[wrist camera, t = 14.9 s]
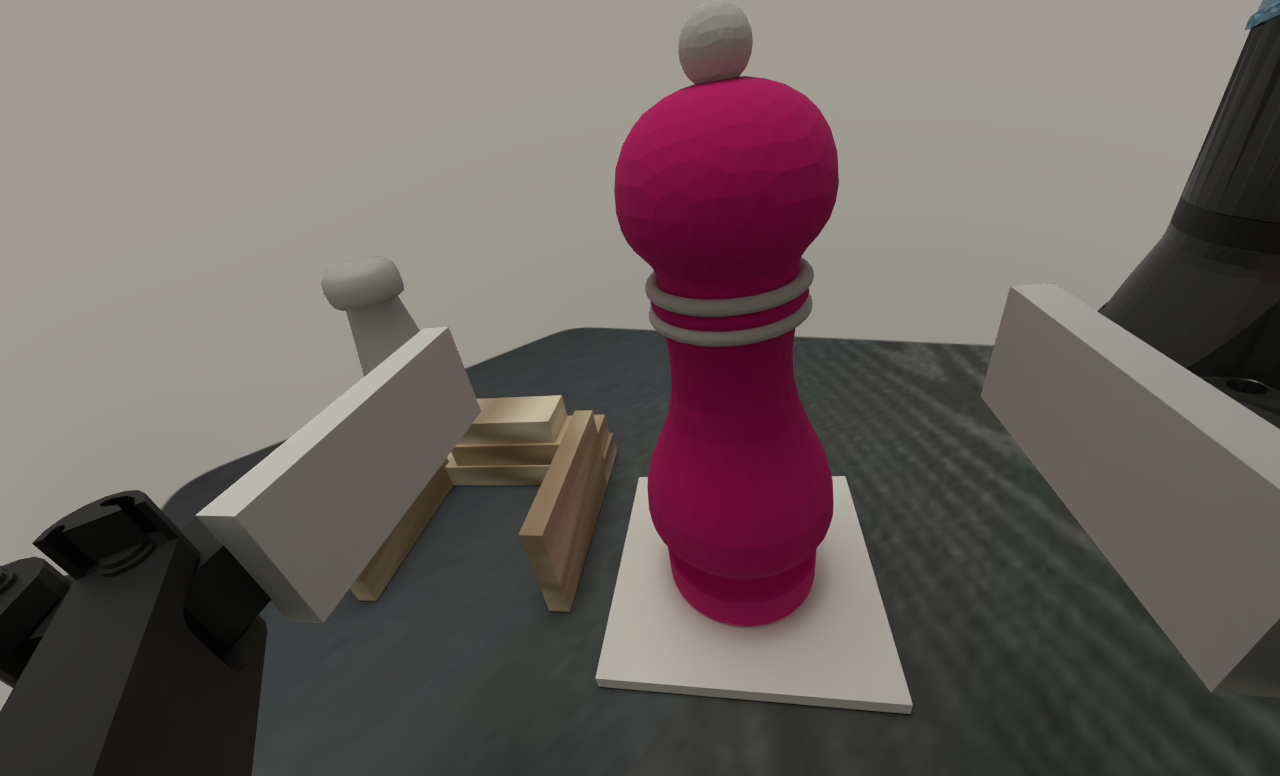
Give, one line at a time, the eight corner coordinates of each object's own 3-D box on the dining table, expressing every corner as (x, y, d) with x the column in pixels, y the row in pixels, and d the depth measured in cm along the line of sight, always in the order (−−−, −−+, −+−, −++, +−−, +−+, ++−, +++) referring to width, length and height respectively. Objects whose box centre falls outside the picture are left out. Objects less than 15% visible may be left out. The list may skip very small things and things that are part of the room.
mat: (844, 484, 25) (845, 476, 25) (910, 714, 16) (913, 705, 16) (640, 485, 28) (639, 477, 27) (598, 686, 19) (595, 678, 18)
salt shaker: (384, 470, 33) (282, 288, 26) (400, 424, 37) (317, 260, 31) (471, 447, 33) (393, 265, 27) (475, 405, 38) (411, 241, 31)
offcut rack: (617, 451, 31) (602, 385, 28) (570, 611, 21) (541, 535, 19) (461, 454, 33) (434, 393, 30) (358, 600, 24) (307, 530, 21)
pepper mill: (633, 603, 21) (493, 29, 10) (695, 489, 26) (644, 34, 15) (808, 670, 17) (865, -74, 7) (838, 524, 23) (896, -24, 12)
